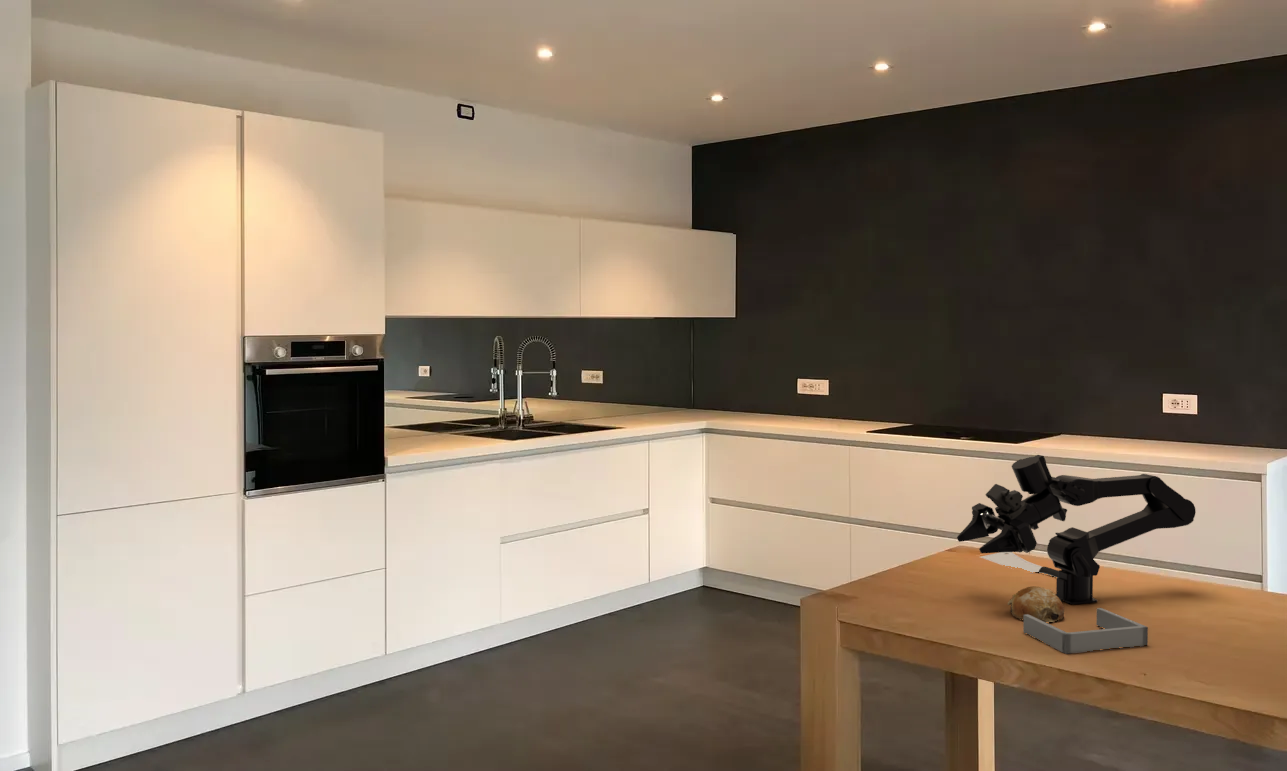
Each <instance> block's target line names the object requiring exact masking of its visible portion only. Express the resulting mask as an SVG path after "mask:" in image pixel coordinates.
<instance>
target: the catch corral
mask: <svg viewBox="0 0 1287 771" xmlns="http://www.w3.org/2000/svg"><path fill="white" fill-rule="evenodd" d="M1022 621H1023V625H1022V626H1023V632H1024V633H1023V634H1025V633H1027V634H1029V635H1031V636H1033V637H1035V638H1037V639H1039V640H1041V641H1043V642H1044V643H1043V642H1042V643H1043V644H1045V643H1046V644H1045V645H1047V644H1048V645H1047V646H1049V645H1050V646H1049V647H1051V648H1053V649H1056V650H1057V651H1059V652H1061V653H1063V654H1065V655H1068V654H1078V653H1086V652H1087V651H1090V652H1094V651H1093V650H1100V649H1109V648H1119V647H1130V648H1135V647H1134V646H1140V647H1145V646H1144V645H1148V642H1149V641H1148V640H1149V637H1148V636H1149V635H1148V634H1149V629H1148V628H1149V627H1148V626H1147V625H1144V624H1141V623H1139V622H1137V621H1134V620H1131V619H1130V618H1126V617H1124V616H1122V615H1119V614H1116V613H1115V612H1112V611H1110V610H1107V609H1105V608H1102V607H1097V608H1096V623H1095V624H1096V625H1098V626H1100V627H1103V628H1105V629H1102V628H1101V629H1092V630H1082V631H1081V630H1080V631H1071V632H1066V631H1064V630H1062V629H1060V628H1058V627H1057V626H1054V625H1052V624H1051V623H1049V624H1048V623H1046V622H1043V621H1041V620H1039V619H1037V618H1035V617H1033V616H1031V615H1028V614H1027V615H1024V617H1023V620H1022ZM1098 626H1097V627H1098ZM1100 627H1099V628H1100ZM1027 634H1026V635H1027ZM1029 635H1028V636H1029ZM1031 636H1030V637H1031ZM1033 637H1032V638H1033ZM1035 638H1034V639H1035ZM1037 639H1036V640H1037ZM1039 640H1038V641H1039ZM1041 641H1040V642H1041ZM1100 651H1101V650H1100ZM1087 653H1088V652H1087Z"/></svg>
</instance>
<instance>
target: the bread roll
mask: <svg viewBox="0 0 1287 771" xmlns="http://www.w3.org/2000/svg"><path fill="white" fill-rule="evenodd" d="M1055 594H1056V593H1054V591H1053V590H1051V589H1048V588H1047V589H1046V588H1045V587H1041V586H1028V587H1024V588H1022V589H1020V590H1018V591H1017V592H1016V593H1015V594H1013V595H1012V598H1011V599H1010V600H1009V601H1008V602H1007V605H1008V606H1010V610H1009V612H1010V613H1011V615H1012V616H1013V617H1014V616H1015V617H1014V618H1016V617H1017V618H1019V619H1023V617H1024V615H1027V614H1028V615H1031V616H1033V617H1035V618H1037V619H1039V620H1041V621H1043V622H1053V623H1055V622H1054V621H1057V620H1058V621H1060V620H1059V619H1061V620H1062V619H1063V618H1064V615H1065V606H1064V604H1063V601H1062V600H1060V599H1059V598H1058V597H1057V596H1056V595H1055ZM1017 618H1016V619H1017ZM1019 619H1018V620H1019ZM1058 621H1057V622H1058Z"/></svg>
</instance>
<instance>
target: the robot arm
mask: <svg viewBox="0 0 1287 771" xmlns="http://www.w3.org/2000/svg"><path fill="white" fill-rule="evenodd" d="M1011 469H1012V472H1013V473H1014V476H1015V478H1016V481H1017V482H1018V485H1019V487H1020V490H1021V491H1022V492H1023V493H1028V494H1029V496H1027V497H1025V498H1023V497H1024V496H1023V494H1022V493H1021V492H1020V491H1018V490H1015V489H1013V490H1010V489H1008V488H1006V487H1005V486H1003V485H1000V484H997V483H995V484H994V485H993V486H991V488H990V489H989V490H988V491H986V493H985V496H986V498H988V499H990V500H991V502H992V503H993V504H994V505H995V506H996V507H994V509H993V507H991V506H988V505H985V504H983V503H981V502H978V503H976V504H974V505H973V506H971V513H972V514H971V515H972V517H971V521H970V522H969V523H968V524H967V525H966V527H965V528H964V529H962V531H961V532H960V533H959V534H958V535H957V536H956V539H957V542H959V543H960V542H966V541H972V540H976V539H981V538H987V537H989V536H990V535H993V534H995V533H996V532H998V530H1001V531H1000V533H999V534H997V535H996V536H995V537H993V538H992V539H990V540H989V541H986V543H984V544H983V545H982V546H980V547H979V548H978V549H979V552H980V553H981V554H995V553H1000V552H1013V553H1023V552H1025V553H1026V554H1028V553H1030V552H1032V551H1034V550H1036V547H1037V545H1038V542H1037V540H1036V537H1035V534H1034V532H1033V530H1034V531H1036V530H1037V529H1039V528H1040V527H1039V524H1040V523H1042V522H1044V521H1046V520H1047V519H1050V518H1051V517H1052V518H1053V519H1055V520H1057V521H1061V522H1065V521H1066V519H1067V518H1066V517H1067V512H1068V509H1067V508H1064V507H1063V506H1062V504H1061V503H1064V504H1067V505H1070V506H1071V505H1072V506H1074V507H1080V506H1085V505H1087V504H1091V503H1094V502H1096V501H1098V500H1099V499H1103V498H1114V497H1129V496H1139V495H1142V498H1143V499H1144V501H1145V502H1146V503H1147V504H1146V505H1145V507H1144V508H1143V509H1141V511H1140V510H1139V511H1137V512H1135V513H1131V514H1130V515H1128V516H1124V517H1121V518H1119V519H1117V520H1114V521H1112V522H1109V523H1107V524H1103V525H1101V526H1099V527H1096V528H1094V529H1091V530H1088V531H1085V530H1083V529H1080V528H1075V527H1070V528H1069V527H1068V528H1067V529H1065V530H1064V531H1061V532H1055V535H1054V536H1053V537H1051V538H1050V540H1048V544H1047V547H1046V549H1047V550H1046V551H1047V555H1048V557H1049V559H1051V561H1052V563H1053V567H1054V568H1057V569H1059V570H1058V578H1057V579H1056V583H1055V584H1056V588H1055V589H1056V590H1055V591H1056V593H1054V594H1055V595H1056V596H1057V597H1058V598H1059V599H1060V601H1062V600H1063V601H1062V602H1064V601H1065V603H1067V604H1069V603H1070V605H1082V604H1092V603H1093V604H1094V603H1098V601H1099V600H1098V599H1096V598H1094V597H1093V596H1094V595H1093V594H1094V593H1093V592H1094V588H1093V587H1094V584H1093V583H1094V576H1095V577H1096V576H1098V574H1099V571H1100V567H1101V566H1100V565H1099V563H1098V562H1097V561H1096V560H1095V558H1096V556H1097V555H1098V554H1099V553H1100V552H1102V551H1104V550H1106V549H1109V548H1111V547H1114V546H1117V545H1119V544H1122V543H1124V542H1126V541H1130V540H1132V539H1134V538H1136V537H1139V536H1142V535H1144V534H1147V533H1149V532H1152V531H1154V530H1158V529H1175V528H1179V527H1181V528H1182V527H1185V526H1189V525H1191V524H1192V523H1193V522H1194V521H1195V520H1194V519H1195V517H1196V511H1197V510H1196V506H1195V504H1194V502H1192V501H1191V500H1190V499H1187V498H1185V497H1184V496H1182V494H1180V493H1179V492H1177V491H1176V490H1175V489H1173V488H1172V487H1170V486H1169V485H1167V484H1166V482H1165V481H1164V480H1162V479H1161V478H1160V477H1159V476H1156V475H1153V474H1149V473H1148V474H1147V473H1142V474H1138V475H1127V476H1125V475H1124V476H1114V477H1113V476H1111V477H1100V478H1099V477H1098V478H1089V477H1082V476H1077V475H1076V476H1075V475H1067V474H1061V475H1058V476H1056V477H1054V476H1052V475H1051V473H1050V469H1049V466H1048V464H1047V461H1046V458H1045V456H1044V455H1040V454H1036V455H1035V456H1028V457H1025V458H1020V459H1018V460H1016V461H1014V462H1013V463H1012V464H1011ZM994 510H995V512H996V514H997V516H996V514H995V512H994Z"/></svg>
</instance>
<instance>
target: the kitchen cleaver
mask: <svg viewBox="0 0 1287 771" xmlns="http://www.w3.org/2000/svg"><path fill="white" fill-rule="evenodd" d="M980 558H981V559H984V560H986V561H990V562H992V563H995V564H998V565H1000V566H1003V565H1005V566H1004V567H1006V566H1011V567H1015V568H1017V567H1018V568H1022V569H1024V570H1027V571H1030V572H1032V573H1031V574H1034V573H1033V572H1039V573H1044V574H1048V575H1051V576H1054V577H1057V578H1058V571H1059V570H1058V569H1054V568H1051V567H1049V566H1042V565H1039V564H1036V563H1033V562H1031V561H1027V560H1026V559H1024V558H1022V557H1021V556H1019V555H1017V554H1015V552H999V553H989V554H987V555H983V556H980ZM1039 573H1038V574H1039ZM1044 574H1043V575H1044ZM1048 575H1047V576H1048ZM1051 576H1050V577H1051Z"/></svg>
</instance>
